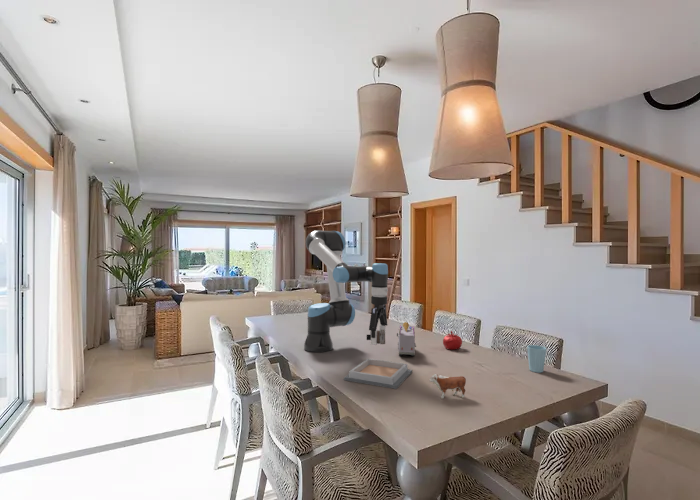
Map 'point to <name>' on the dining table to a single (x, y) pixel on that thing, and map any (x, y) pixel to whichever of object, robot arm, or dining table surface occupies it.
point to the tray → (379, 373)
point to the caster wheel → (379, 336)
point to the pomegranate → (452, 341)
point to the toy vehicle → (406, 340)
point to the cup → (536, 358)
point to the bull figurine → (449, 384)
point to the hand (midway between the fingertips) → (378, 341)
